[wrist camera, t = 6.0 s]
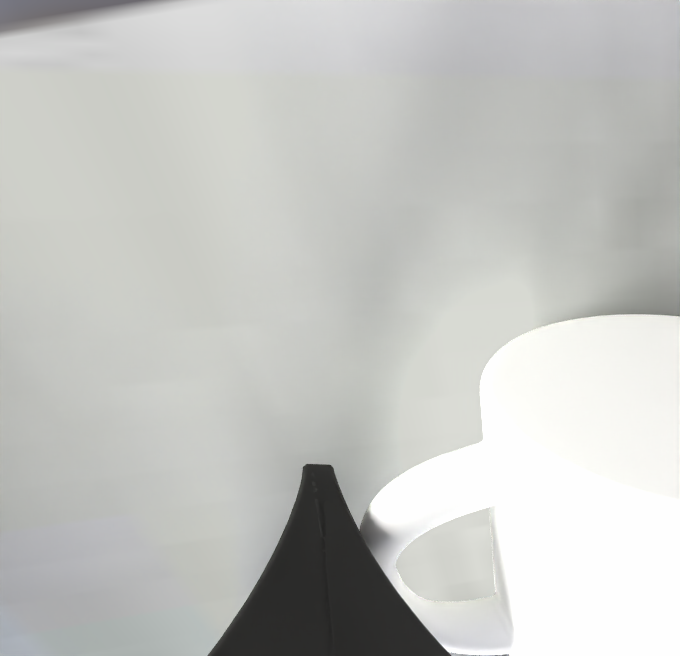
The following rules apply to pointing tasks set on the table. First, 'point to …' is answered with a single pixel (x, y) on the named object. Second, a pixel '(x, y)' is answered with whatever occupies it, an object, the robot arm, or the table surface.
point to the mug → (560, 496)
